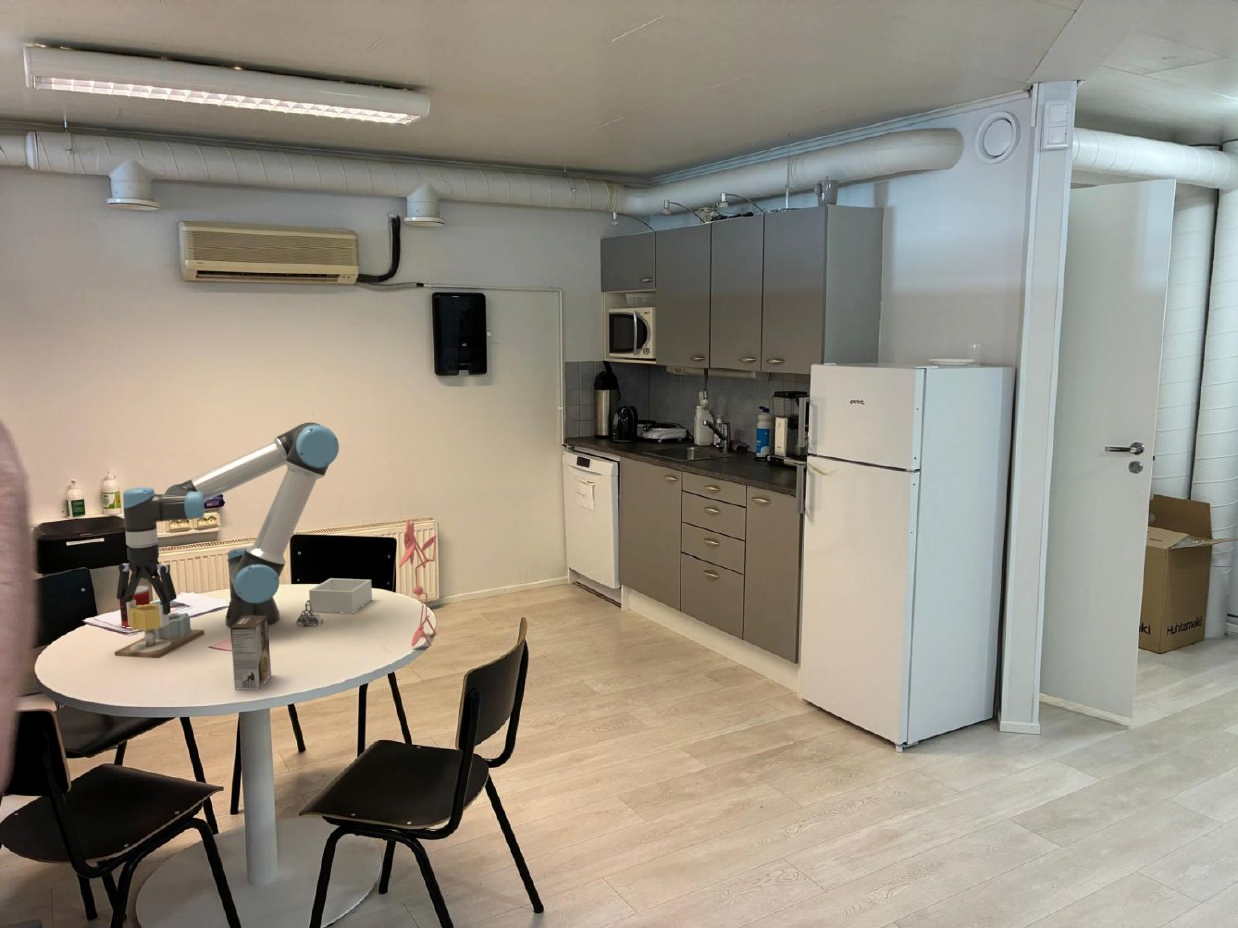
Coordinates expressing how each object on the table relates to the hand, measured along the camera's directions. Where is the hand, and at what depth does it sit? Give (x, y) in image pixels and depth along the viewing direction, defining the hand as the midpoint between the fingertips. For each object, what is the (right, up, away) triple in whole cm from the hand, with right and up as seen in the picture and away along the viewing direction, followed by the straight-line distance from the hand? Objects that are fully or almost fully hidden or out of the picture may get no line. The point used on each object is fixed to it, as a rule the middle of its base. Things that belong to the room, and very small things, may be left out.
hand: (148, 624), depth 240 cm
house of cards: (+35, -5, +21) cm, 41 cm away
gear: (+1, -5, +10) cm, 11 cm away
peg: (0, -6, +1) cm, 6 cm away
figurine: (+70, -6, +8) cm, 71 cm away
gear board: (+1, -7, +5) cm, 8 cm away
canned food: (-16, -4, +23) cm, 28 cm away
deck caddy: (+40, -1, +41) cm, 57 cm away
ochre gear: (0, 0, 0) cm, 0 cm away
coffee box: (+38, -11, -22) cm, 45 cm away
